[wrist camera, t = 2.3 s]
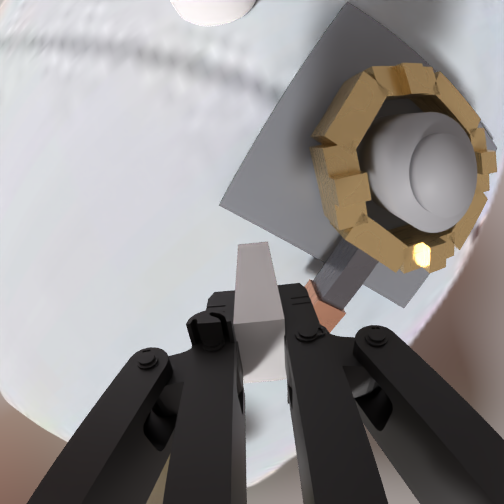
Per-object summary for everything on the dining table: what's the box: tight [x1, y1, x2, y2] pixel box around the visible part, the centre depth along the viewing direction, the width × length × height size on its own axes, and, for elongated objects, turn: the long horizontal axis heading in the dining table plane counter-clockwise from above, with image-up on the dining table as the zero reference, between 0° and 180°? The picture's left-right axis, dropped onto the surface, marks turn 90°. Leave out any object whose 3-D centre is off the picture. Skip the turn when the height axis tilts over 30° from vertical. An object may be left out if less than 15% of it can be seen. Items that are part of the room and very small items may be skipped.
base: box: [219, 2, 497, 308], centre depth 16 cm, size 20×20×8 cm
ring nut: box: [305, 63, 497, 333], centre depth 17 cm, size 21×14×4 cm, turn 151°
